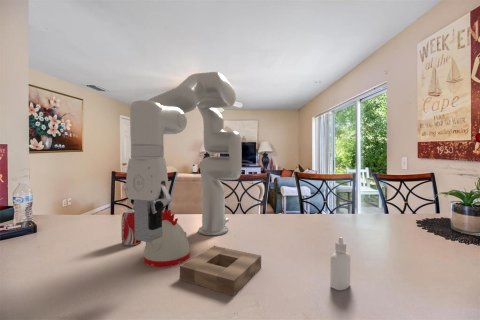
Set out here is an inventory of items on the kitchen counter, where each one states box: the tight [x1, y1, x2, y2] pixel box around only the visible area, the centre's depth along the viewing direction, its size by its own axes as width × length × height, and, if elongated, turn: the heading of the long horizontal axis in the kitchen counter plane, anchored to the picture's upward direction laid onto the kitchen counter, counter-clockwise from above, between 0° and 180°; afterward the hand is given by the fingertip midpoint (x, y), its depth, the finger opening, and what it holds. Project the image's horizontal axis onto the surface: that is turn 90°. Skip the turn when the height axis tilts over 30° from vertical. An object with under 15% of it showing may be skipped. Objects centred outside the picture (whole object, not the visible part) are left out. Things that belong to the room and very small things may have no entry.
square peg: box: [134, 200, 162, 243], centre depth 60 cm, size 4×4×10 cm
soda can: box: [121, 208, 142, 247], centre depth 88 cm, size 7×7×12 cm
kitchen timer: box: [143, 208, 191, 268], centre depth 77 cm, size 14×14×15 cm
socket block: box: [179, 245, 262, 297], centre depth 66 cm, size 16×16×4 cm
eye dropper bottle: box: [329, 236, 351, 291], centre depth 60 cm, size 4×6×12 cm
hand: (148, 226), depth 60 cm, fingers closed on square peg, 4 cm apart
